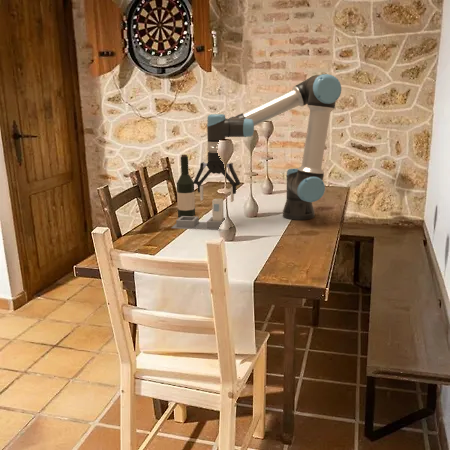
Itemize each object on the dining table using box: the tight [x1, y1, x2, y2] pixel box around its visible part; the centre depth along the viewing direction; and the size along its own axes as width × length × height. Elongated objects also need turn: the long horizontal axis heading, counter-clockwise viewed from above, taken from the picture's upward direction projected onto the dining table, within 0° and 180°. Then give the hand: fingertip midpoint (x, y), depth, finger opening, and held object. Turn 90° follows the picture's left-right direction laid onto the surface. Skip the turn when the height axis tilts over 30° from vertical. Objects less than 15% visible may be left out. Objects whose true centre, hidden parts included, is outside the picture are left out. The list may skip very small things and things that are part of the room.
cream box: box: [211, 198, 225, 221], centre depth 216 cm, size 4×5×12 cm
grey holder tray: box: [170, 215, 226, 231], centre depth 219 cm, size 26×12×4 cm, turn 77°
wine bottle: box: [176, 154, 196, 219], centre depth 236 cm, size 8×8×30 cm
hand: (216, 200), depth 215 cm, fingers open, 13 cm apart
